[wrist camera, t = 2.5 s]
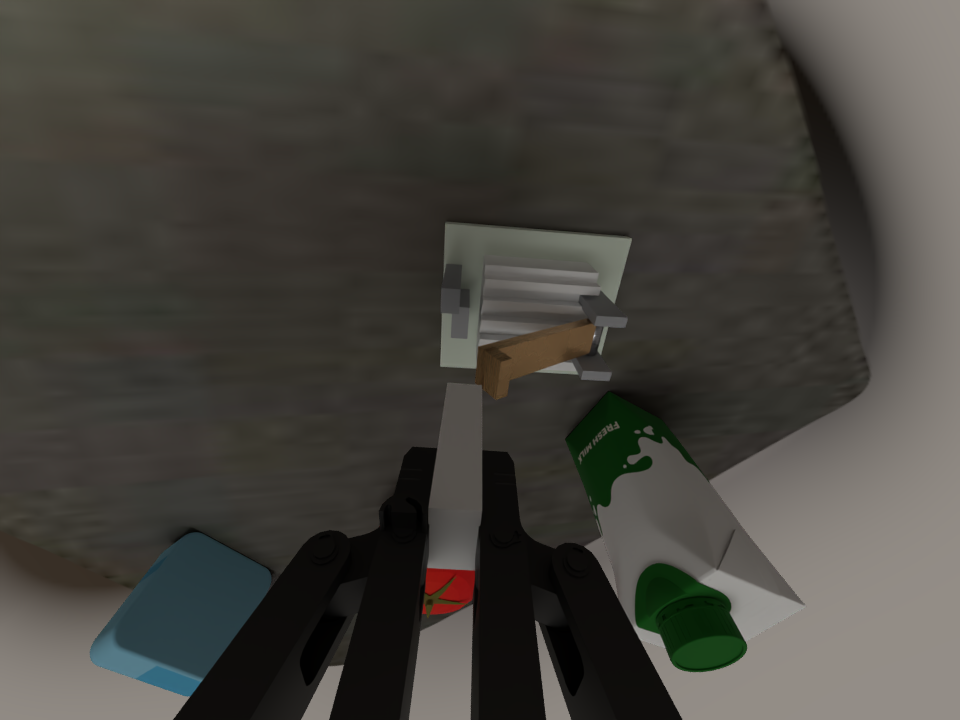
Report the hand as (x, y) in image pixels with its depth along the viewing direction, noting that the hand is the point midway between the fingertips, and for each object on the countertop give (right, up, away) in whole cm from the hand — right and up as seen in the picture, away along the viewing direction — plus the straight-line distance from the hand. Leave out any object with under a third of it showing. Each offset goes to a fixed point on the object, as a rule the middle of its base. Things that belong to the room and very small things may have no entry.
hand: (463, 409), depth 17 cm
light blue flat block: (-31, -22, +30) cm, 49 cm away
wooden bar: (+5, +3, +8) cm, 10 cm away
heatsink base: (+5, +7, +15) cm, 17 cm away
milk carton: (+14, -5, +22) cm, 26 cm away
